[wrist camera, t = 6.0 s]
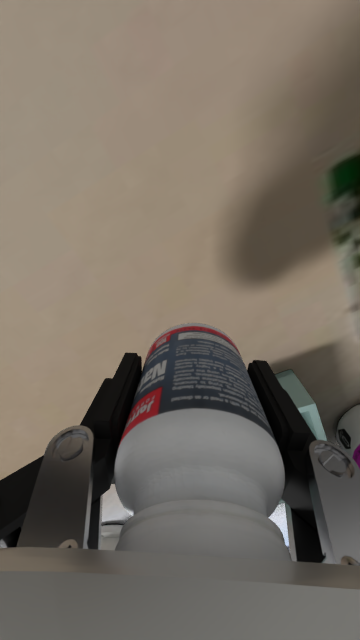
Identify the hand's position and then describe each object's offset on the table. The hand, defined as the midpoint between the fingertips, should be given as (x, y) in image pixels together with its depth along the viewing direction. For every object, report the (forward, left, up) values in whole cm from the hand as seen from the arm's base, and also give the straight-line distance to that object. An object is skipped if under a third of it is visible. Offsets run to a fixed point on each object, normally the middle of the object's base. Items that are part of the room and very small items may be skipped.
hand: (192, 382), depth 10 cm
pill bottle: (0, 0, -2) cm, 2 cm away
